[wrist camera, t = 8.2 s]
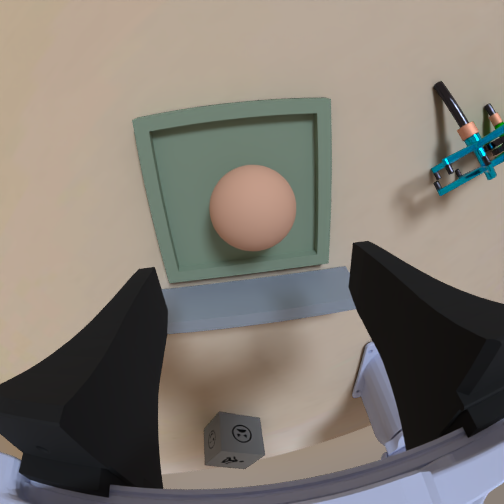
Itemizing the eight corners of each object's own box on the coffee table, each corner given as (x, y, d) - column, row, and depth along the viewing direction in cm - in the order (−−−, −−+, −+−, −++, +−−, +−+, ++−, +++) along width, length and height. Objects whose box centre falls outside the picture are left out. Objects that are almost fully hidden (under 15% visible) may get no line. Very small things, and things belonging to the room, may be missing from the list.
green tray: (324, 255, 22) (328, 263, 21) (170, 274, 21) (169, 283, 20) (324, 97, 16) (330, 98, 15) (136, 118, 16) (132, 120, 15)
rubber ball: (278, 220, 20) (311, 255, 16) (208, 236, 19) (227, 277, 15) (274, 151, 18) (311, 171, 14) (196, 164, 17) (214, 189, 13)
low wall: (344, 277, 23) (360, 307, 20) (155, 301, 22) (148, 335, 19) (345, 266, 22) (362, 296, 19) (151, 290, 22) (144, 324, 19)
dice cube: (219, 411, 31) (221, 450, 27) (259, 417, 33) (265, 454, 29) (203, 429, 33) (204, 465, 29) (241, 434, 35) (245, 468, 31)
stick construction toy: (423, 215, 18) (510, 179, 11) (371, 122, 19) (434, 54, 11) (500, 165, 20) (561, 133, 13) (461, 96, 21) (513, 52, 13)
